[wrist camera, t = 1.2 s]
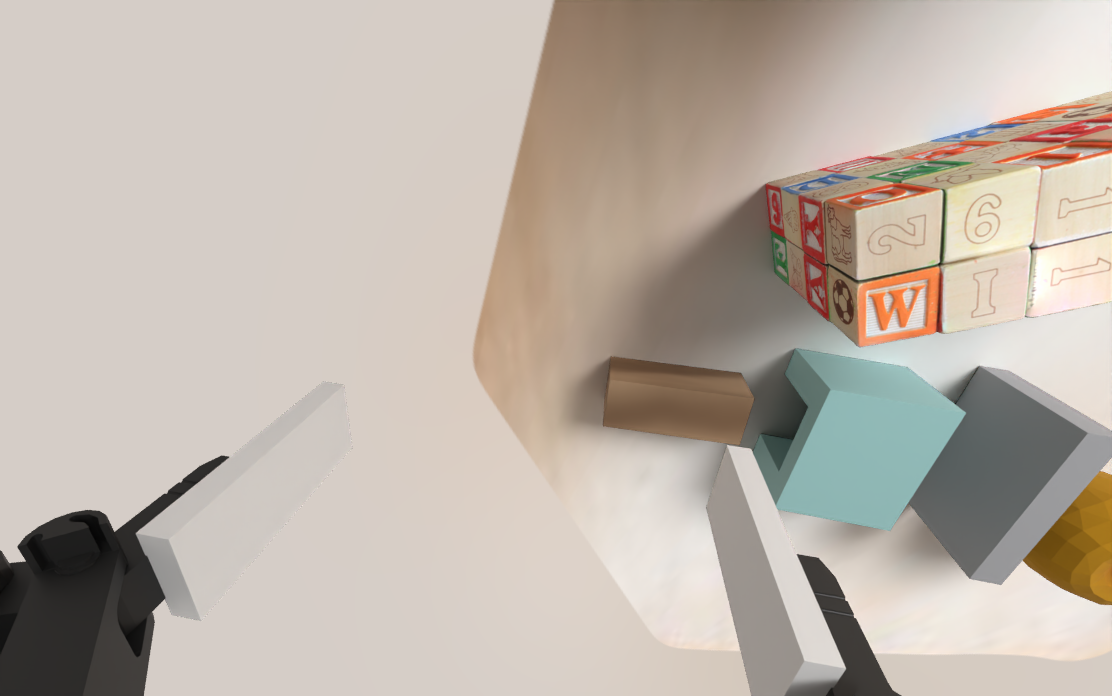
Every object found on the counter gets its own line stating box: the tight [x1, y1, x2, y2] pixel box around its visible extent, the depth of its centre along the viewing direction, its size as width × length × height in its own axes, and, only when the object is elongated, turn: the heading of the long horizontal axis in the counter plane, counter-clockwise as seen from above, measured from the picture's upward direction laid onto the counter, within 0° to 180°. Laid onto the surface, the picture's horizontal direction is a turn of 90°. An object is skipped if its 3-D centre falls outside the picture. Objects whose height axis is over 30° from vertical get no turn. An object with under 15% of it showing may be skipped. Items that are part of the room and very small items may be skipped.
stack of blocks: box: [766, 91, 1112, 347], centre depth 21 cm, size 21×6×12 cm, turn 106°
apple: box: [1023, 471, 1112, 605], centre depth 31 cm, size 8×8×9 cm
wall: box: [908, 366, 1112, 585], centre depth 30 cm, size 12×2×8 cm, turn 172°
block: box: [753, 348, 966, 531], centre depth 32 cm, size 10×8×6 cm
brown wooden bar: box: [603, 357, 754, 445], centre depth 33 cm, size 4×10×4 cm, turn 85°
